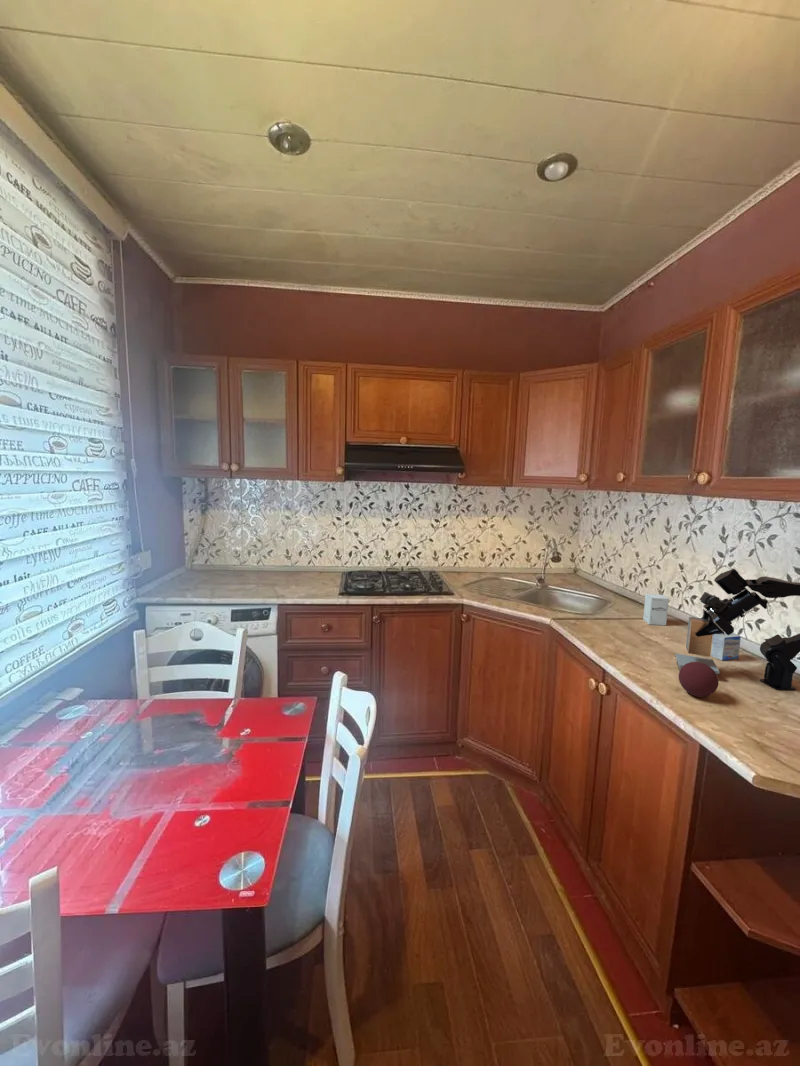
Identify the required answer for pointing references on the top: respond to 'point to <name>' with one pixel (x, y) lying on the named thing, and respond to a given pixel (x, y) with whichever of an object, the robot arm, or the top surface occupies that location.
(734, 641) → the medicine box
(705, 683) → the decorative ball
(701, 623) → the two-tone metal block
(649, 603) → the supplement box
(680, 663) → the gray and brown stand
